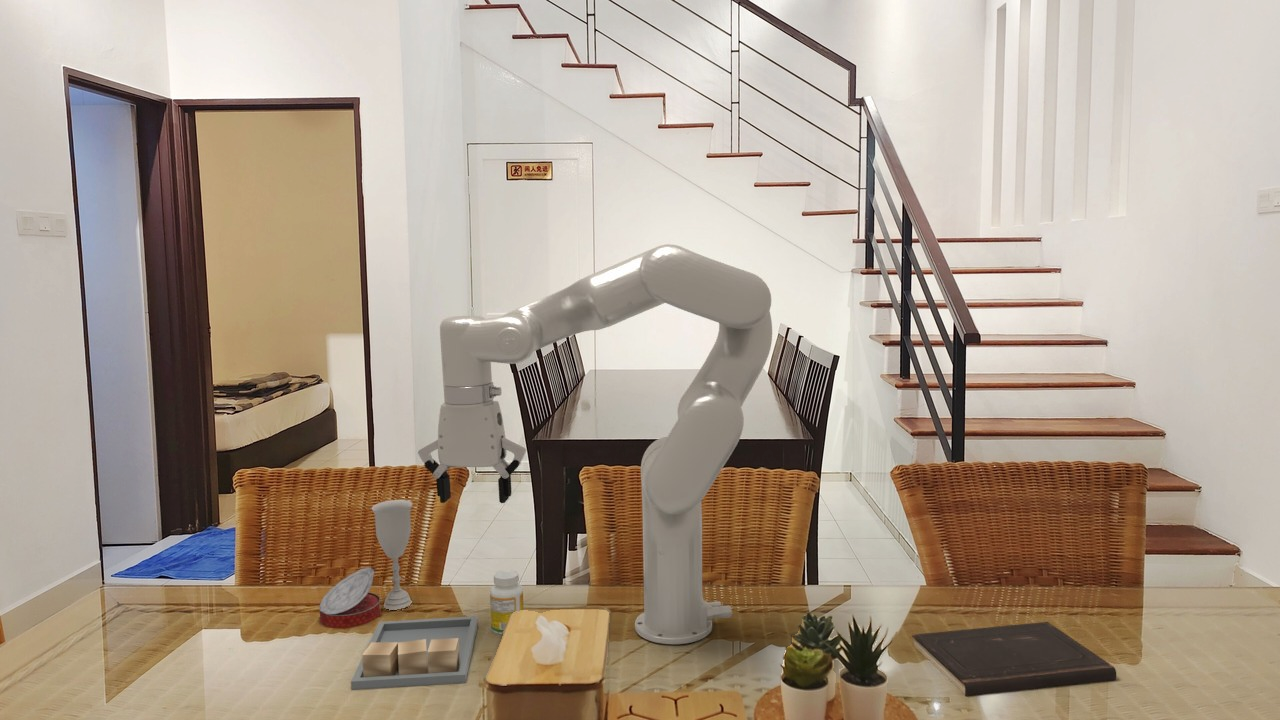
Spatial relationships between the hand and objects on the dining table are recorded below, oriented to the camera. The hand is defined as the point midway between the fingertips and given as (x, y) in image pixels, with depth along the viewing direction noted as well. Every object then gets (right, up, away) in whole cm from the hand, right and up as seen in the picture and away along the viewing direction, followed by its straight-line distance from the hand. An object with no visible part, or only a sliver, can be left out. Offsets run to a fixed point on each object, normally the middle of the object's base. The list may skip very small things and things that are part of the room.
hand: (474, 500), depth 140 cm
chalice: (-16, -21, +15) cm, 31 cm away
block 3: (-2, -23, -11) cm, 26 cm away
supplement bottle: (+5, -22, +4) cm, 23 cm away
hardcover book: (+81, -23, -10) cm, 85 cm away
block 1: (-11, -24, -11) cm, 29 cm away
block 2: (-7, -24, -11) cm, 27 cm away
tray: (-8, -23, -5) cm, 25 cm away
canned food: (-23, -22, +10) cm, 33 cm away
